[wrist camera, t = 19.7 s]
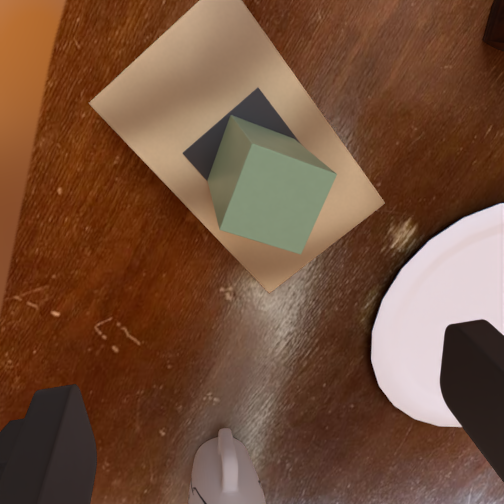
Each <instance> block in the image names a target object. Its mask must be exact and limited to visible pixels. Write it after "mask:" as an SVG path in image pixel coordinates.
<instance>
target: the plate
mask: <svg viewBox="0 0 504 504" xmlns="http://www.w3.org/2000/svg"><path fill="white" fill-rule="evenodd" d="M479 319H484V320H486V321H488V322H489V323H490V324H492V325H493V326H494V327H495V328H496V329H497V330H498V331H499V332H500V333H502V334H503V335H504V203H498V204H495V205H493V206H490V207H488V208H485V209H483V210H480V211H478V212H475V213H472V214H470V215H467V216H465V217H462V218H461V219H459V220H458V221H456V222H455V223H453V224H452V225H450V226H449V227H447V228H446V229H444V230H443V231H441V232H440V233H438V234H437V235H435V236H434V237H432V238H431V239H429V240H428V241H427V242H426V243H425V244H424V245H423V246H422V247H421V248H420V249H419V250H418V251H417V252H416V253H415V254H414V255H413V256H412V257H411V258H410V259H409V260H408V261H407V262H406V263H405V265H404V266H403V267H402V268H401V269H400V271H399V272H398V274H397V275H396V277H395V279H394V280H393V282H392V283H391V285H390V287H389V288H388V290H387V291H386V293H385V295H384V296H383V298H382V300H381V303H380V306H379V309H378V312H377V315H376V318H375V322H374V325H373V328H372V334H371V362H372V366H373V369H374V372H375V376H376V379H377V382H378V385H379V387H380V388H381V389H382V391H383V392H384V393H385V395H386V396H387V397H388V399H389V400H390V401H391V403H392V404H393V405H394V406H395V407H397V408H398V409H400V410H401V411H403V412H404V413H406V414H407V415H409V416H410V417H412V418H413V419H416V420H419V421H423V422H426V423H430V424H433V425H437V426H449V427H462V426H461V424H460V423H459V422H458V420H457V419H456V418H455V416H454V415H453V414H452V412H451V411H450V410H449V408H448V407H447V405H446V403H445V401H444V399H443V396H442V393H441V389H440V371H441V361H442V352H443V343H444V334H445V330H446V327H447V326H448V325H450V324H455V323H461V322H467V321H473V320H479Z"/></svg>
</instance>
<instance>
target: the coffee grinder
mask: <svg viewBox="0 0 504 504" xmlns="http://www.w3.org/2000/svg"><path fill="white" fill-rule="evenodd" d="M483 41H484V42H486V43H487V44H489V45H491V46H493V47H494V48H496V49H499V50H502V51H504V0H494V2H493V5H492V8H491V12H490V16H489V19H488V23H487V27H486V31H485V34H484V38H483Z"/></svg>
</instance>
